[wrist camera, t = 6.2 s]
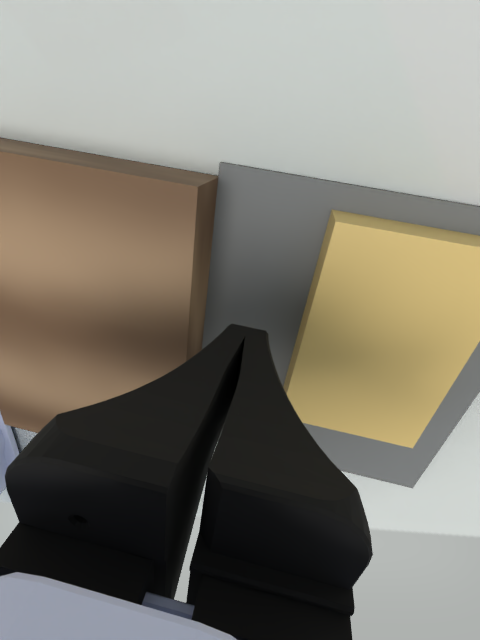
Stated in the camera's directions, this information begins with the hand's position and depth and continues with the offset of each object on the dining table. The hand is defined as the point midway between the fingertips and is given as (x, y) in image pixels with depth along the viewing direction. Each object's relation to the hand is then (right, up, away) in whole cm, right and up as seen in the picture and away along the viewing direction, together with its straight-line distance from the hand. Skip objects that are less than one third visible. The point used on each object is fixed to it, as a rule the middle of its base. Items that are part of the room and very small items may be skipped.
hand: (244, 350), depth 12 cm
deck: (-7, +2, +5) cm, 9 cm away
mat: (+4, -1, +4) cm, 6 cm away
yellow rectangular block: (+5, 0, +1) cm, 5 cm away
